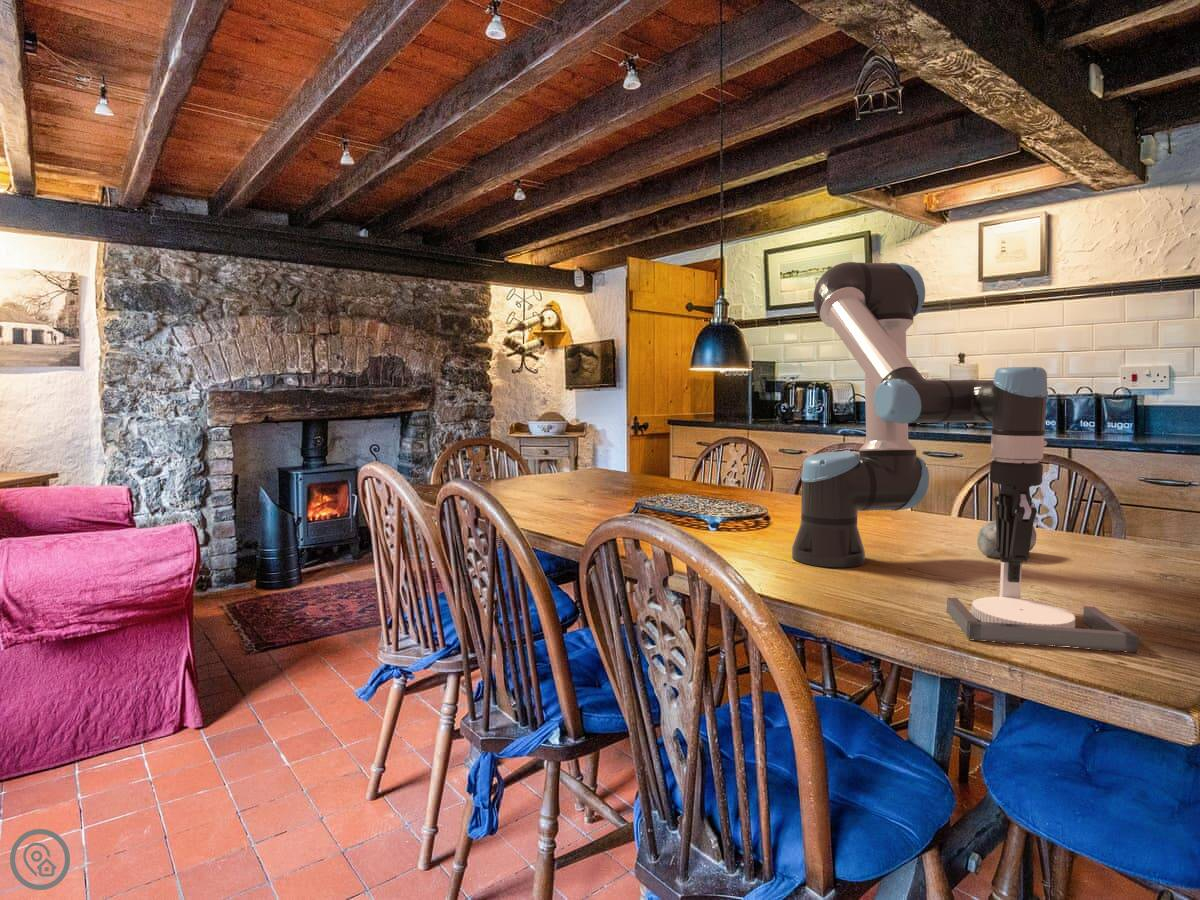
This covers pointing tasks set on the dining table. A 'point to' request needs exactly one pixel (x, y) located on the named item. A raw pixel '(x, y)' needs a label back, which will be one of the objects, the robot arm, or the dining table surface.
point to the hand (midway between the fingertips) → (1009, 598)
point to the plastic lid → (1021, 612)
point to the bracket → (1049, 631)
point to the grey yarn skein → (994, 540)
